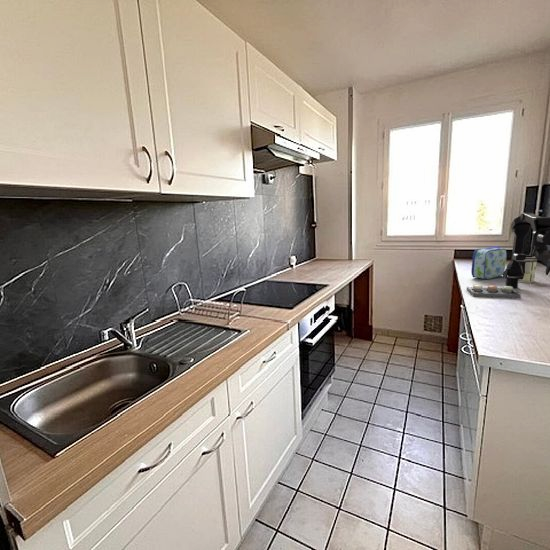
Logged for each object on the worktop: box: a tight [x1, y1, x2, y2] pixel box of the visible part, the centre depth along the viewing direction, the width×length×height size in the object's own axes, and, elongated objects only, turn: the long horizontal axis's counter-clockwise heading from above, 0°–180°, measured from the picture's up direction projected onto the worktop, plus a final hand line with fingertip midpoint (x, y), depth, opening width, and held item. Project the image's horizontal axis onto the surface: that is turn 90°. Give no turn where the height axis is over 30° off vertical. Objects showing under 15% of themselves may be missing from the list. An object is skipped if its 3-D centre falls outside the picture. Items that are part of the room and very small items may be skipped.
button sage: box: [502, 285, 514, 292], centre depth 166 cm, size 4×4×3 cm
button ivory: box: [472, 284, 483, 291], centre depth 170 cm, size 4×4×3 cm
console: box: [466, 286, 522, 300], centre depth 168 cm, size 14×21×3 cm, turn 72°
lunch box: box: [471, 245, 508, 280], centre depth 210 cm, size 26×11×21 cm, turn 118°
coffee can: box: [518, 259, 538, 283], centre depth 198 cm, size 10×10×14 cm
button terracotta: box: [487, 284, 499, 292], centre depth 168 cm, size 4×4×3 cm
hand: (534, 274), depth 153 cm, fingers open, 9 cm apart
